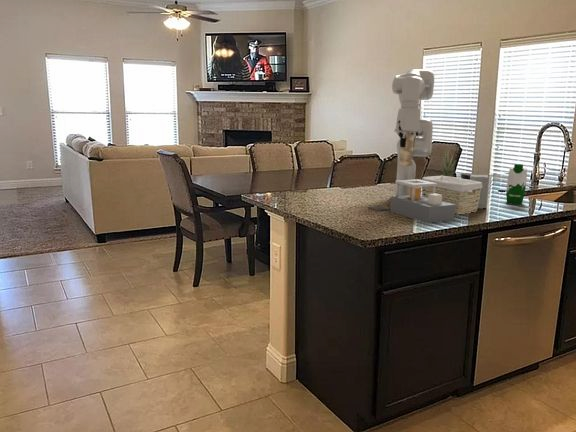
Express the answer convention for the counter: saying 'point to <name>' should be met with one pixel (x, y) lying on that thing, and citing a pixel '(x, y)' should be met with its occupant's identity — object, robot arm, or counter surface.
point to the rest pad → (379, 208)
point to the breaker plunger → (416, 193)
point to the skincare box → (483, 190)
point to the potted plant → (448, 166)
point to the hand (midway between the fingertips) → (406, 146)
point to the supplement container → (467, 175)
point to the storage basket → (455, 192)
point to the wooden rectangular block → (407, 151)
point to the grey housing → (421, 204)
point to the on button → (434, 199)
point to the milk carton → (516, 184)
